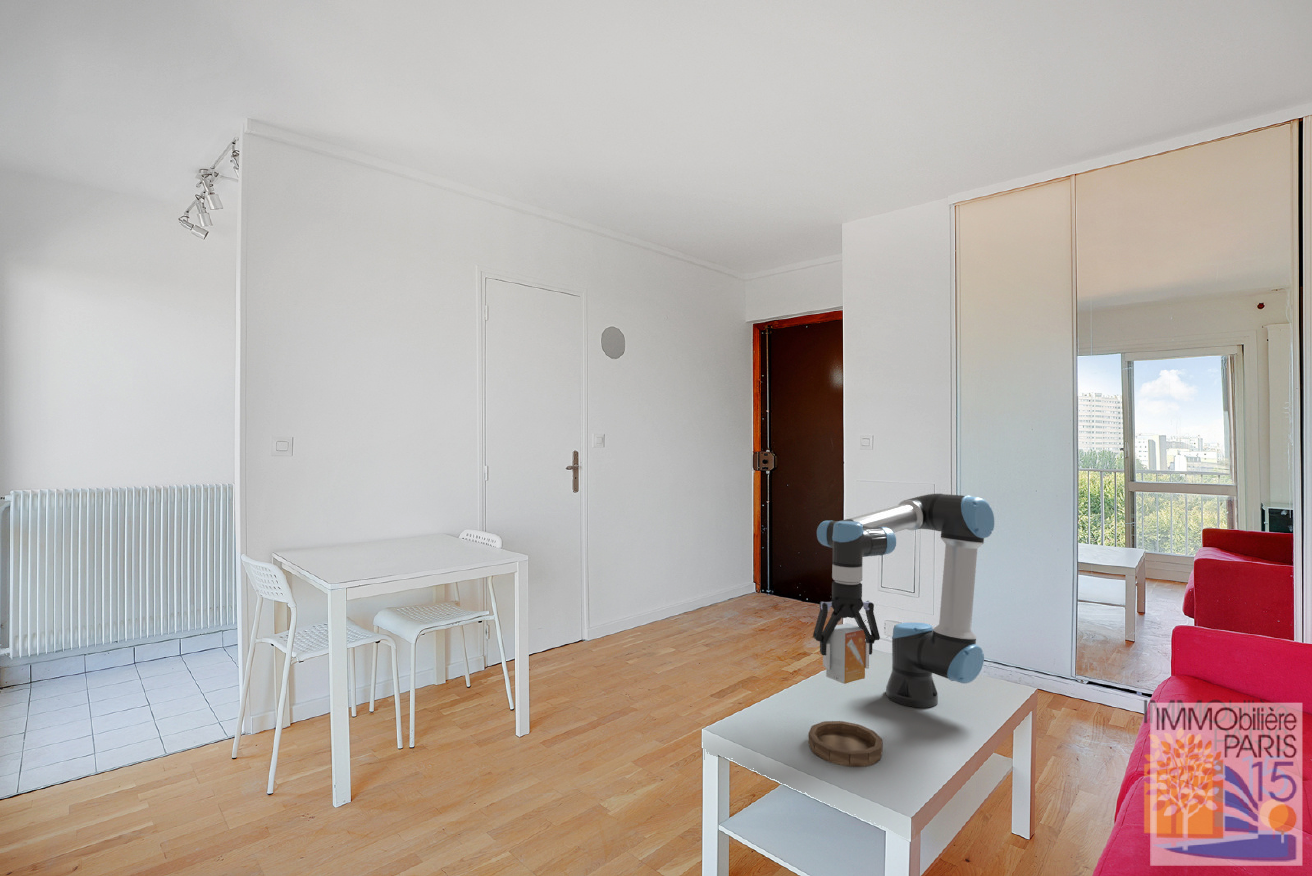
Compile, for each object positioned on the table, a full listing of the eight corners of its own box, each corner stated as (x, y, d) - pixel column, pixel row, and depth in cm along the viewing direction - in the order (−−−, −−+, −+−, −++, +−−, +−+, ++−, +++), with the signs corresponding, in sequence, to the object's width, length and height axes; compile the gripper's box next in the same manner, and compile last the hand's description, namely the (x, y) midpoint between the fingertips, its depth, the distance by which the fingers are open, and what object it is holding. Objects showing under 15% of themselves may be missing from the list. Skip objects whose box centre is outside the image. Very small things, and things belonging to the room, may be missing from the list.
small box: (844, 684, 160) (845, 633, 160) (825, 676, 165) (825, 627, 165) (866, 678, 164) (866, 628, 164) (846, 671, 169) (846, 622, 169)
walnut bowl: (863, 732, 174) (864, 720, 174) (894, 765, 156) (894, 752, 156) (800, 734, 172) (800, 722, 172) (823, 768, 154) (823, 754, 154)
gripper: (882, 578, 169) (880, 661, 169) (800, 578, 167) (799, 662, 167) (895, 584, 162) (893, 671, 162) (810, 584, 160) (808, 673, 160)
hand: (845, 667), depth 164 cm, fingers closed on small box, 10 cm apart
